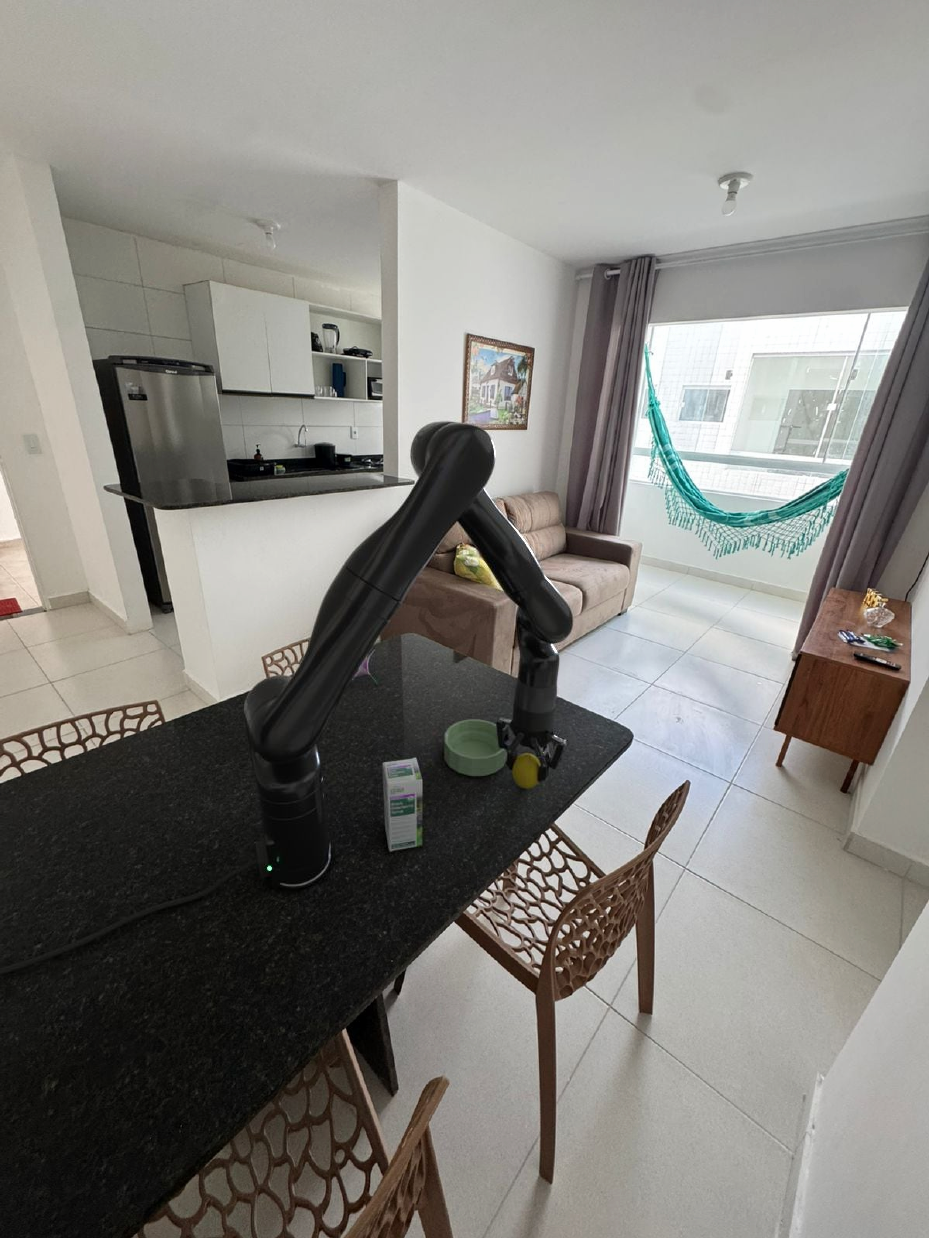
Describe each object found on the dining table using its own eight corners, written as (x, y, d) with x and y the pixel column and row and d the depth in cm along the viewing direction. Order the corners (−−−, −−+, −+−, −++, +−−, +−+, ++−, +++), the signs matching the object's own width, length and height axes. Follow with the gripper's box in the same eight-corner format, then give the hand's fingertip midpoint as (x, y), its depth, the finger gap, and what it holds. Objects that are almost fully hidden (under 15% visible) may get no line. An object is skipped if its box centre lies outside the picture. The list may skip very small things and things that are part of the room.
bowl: (460, 785, 100) (461, 765, 98) (434, 746, 111) (434, 727, 109) (517, 768, 106) (519, 748, 104) (487, 732, 117) (489, 714, 115)
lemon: (538, 779, 103) (542, 746, 100) (539, 798, 98) (543, 765, 95) (511, 776, 103) (514, 744, 100) (510, 795, 98) (513, 762, 95)
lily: (374, 671, 142) (356, 644, 138) (401, 670, 134) (382, 641, 130) (346, 701, 134) (325, 673, 131) (372, 702, 126) (351, 672, 123)
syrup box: (388, 852, 85) (386, 784, 79) (384, 826, 90) (382, 760, 84) (422, 846, 87) (423, 779, 81) (416, 820, 92) (416, 755, 86)
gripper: (490, 696, 93) (484, 770, 100) (565, 722, 86) (554, 799, 93) (508, 679, 99) (502, 750, 106) (579, 702, 92) (568, 776, 99)
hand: (526, 773), depth 99 cm, fingers closed on lemon, 5 cm apart
